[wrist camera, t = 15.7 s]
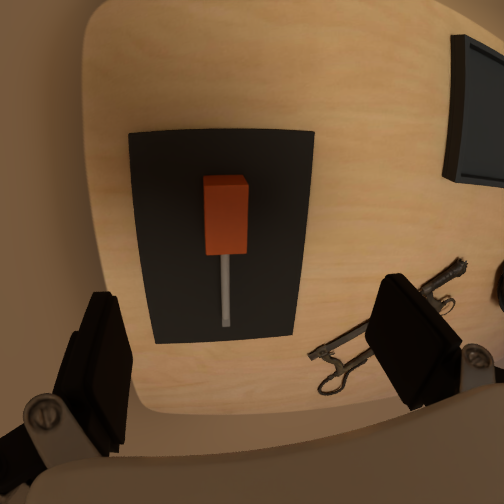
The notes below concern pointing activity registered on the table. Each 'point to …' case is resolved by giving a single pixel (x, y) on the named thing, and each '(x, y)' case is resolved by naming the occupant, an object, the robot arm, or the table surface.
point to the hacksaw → (324, 350)
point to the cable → (501, 291)
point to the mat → (193, 232)
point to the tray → (475, 115)
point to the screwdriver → (225, 225)
